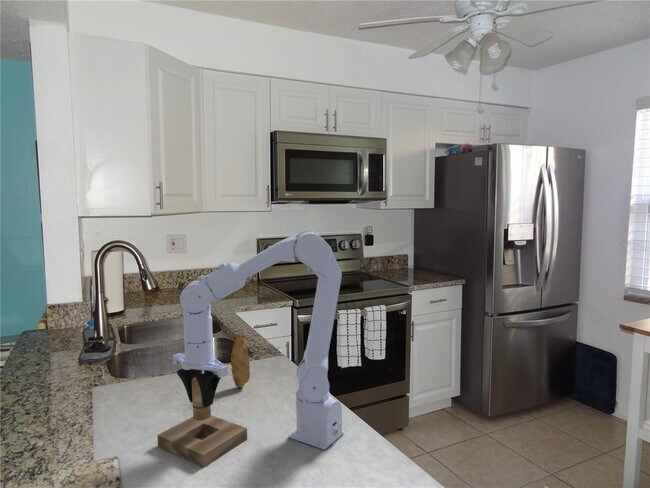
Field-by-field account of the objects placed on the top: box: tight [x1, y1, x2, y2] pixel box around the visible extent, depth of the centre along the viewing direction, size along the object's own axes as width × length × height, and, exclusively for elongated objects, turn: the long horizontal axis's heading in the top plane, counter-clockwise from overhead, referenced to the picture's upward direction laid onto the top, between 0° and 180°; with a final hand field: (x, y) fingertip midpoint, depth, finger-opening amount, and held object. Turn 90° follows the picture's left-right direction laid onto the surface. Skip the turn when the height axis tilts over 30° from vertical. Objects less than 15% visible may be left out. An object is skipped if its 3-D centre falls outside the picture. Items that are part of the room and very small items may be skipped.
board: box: [156, 414, 248, 468], centre depth 95 cm, size 14×12×2 cm
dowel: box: [191, 377, 212, 420], centre depth 95 cm, size 4×4×8 cm
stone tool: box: [230, 332, 251, 388], centre depth 123 cm, size 5×2×15 cm, turn 93°
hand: (201, 402), depth 95 cm, fingers closed on dowel, 4 cm apart
